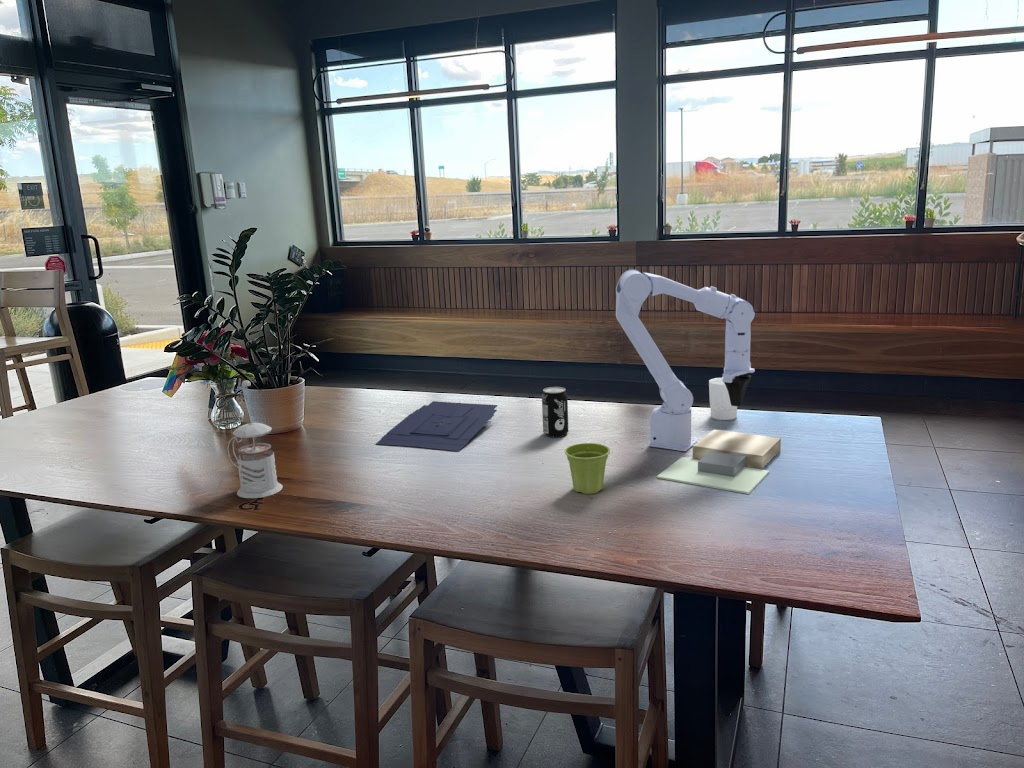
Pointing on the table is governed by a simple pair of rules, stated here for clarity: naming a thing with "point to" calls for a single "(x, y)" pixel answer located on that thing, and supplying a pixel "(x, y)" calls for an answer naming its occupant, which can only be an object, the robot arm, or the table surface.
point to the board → (739, 446)
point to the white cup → (720, 401)
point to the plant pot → (587, 466)
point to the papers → (440, 425)
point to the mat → (713, 476)
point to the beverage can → (555, 411)
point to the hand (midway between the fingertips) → (736, 405)
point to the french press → (255, 461)
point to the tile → (722, 463)
